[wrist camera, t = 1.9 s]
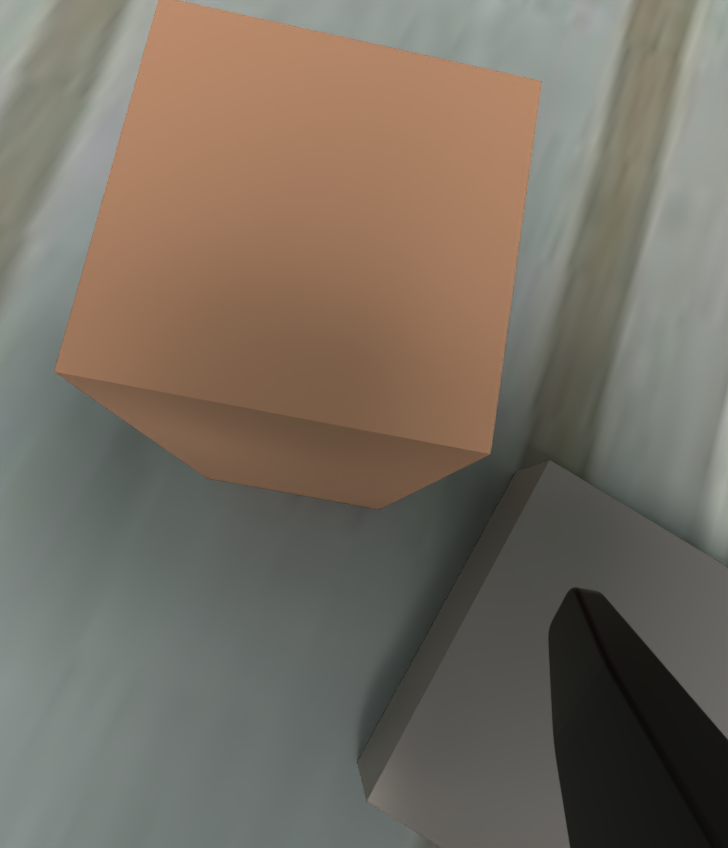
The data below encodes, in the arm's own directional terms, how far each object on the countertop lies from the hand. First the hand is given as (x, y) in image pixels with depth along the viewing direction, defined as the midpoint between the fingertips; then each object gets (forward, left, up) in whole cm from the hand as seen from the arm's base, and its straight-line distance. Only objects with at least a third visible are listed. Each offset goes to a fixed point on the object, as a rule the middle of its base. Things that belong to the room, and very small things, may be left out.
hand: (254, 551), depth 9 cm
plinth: (+2, -10, -11) cm, 15 cm away
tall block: (+4, +2, -11) cm, 12 cm away
